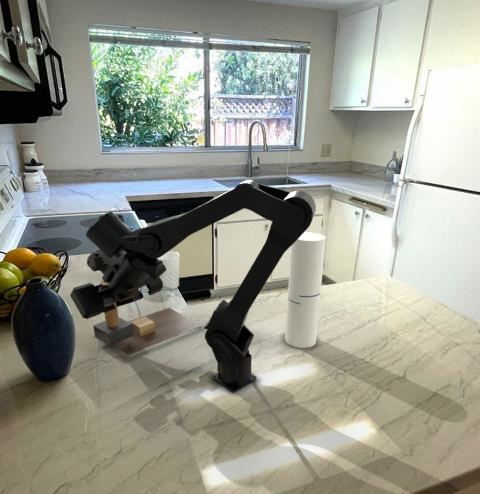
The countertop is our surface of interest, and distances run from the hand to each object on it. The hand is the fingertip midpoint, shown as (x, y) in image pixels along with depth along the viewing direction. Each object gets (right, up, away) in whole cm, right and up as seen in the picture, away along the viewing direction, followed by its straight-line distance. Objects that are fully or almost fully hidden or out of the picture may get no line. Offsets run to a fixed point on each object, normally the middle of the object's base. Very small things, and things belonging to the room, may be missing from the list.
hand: (107, 308), depth 88 cm
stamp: (+1, -6, +2) cm, 7 cm away
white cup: (+7, +5, +37) cm, 38 cm away
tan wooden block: (+6, -6, +7) cm, 11 cm away
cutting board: (+8, -6, +9) cm, 13 cm away
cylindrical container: (+43, -8, +7) cm, 45 cm away
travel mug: (-11, +8, +43) cm, 45 cm away
